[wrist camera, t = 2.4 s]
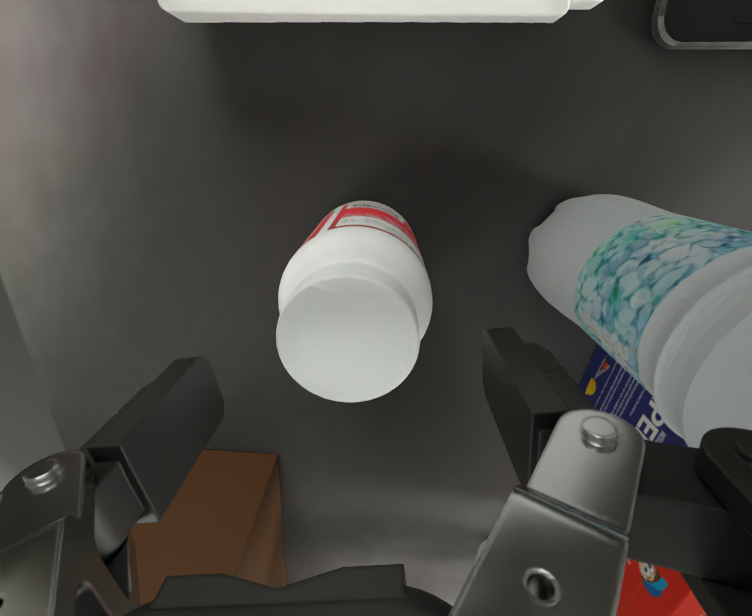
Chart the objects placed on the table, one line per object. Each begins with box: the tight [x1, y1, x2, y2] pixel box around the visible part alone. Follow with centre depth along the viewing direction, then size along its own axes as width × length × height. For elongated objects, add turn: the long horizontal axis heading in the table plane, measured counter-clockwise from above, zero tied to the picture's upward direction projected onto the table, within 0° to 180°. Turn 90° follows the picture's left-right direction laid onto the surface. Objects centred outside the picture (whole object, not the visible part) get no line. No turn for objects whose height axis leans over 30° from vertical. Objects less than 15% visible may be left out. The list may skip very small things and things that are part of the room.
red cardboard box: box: [579, 344, 707, 616], centre depth 21 cm, size 18×4×12 cm, turn 172°
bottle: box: [527, 194, 752, 448], centre depth 12 cm, size 7×7×20 cm
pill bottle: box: [276, 201, 433, 402], centre depth 17 cm, size 6×6×11 cm
